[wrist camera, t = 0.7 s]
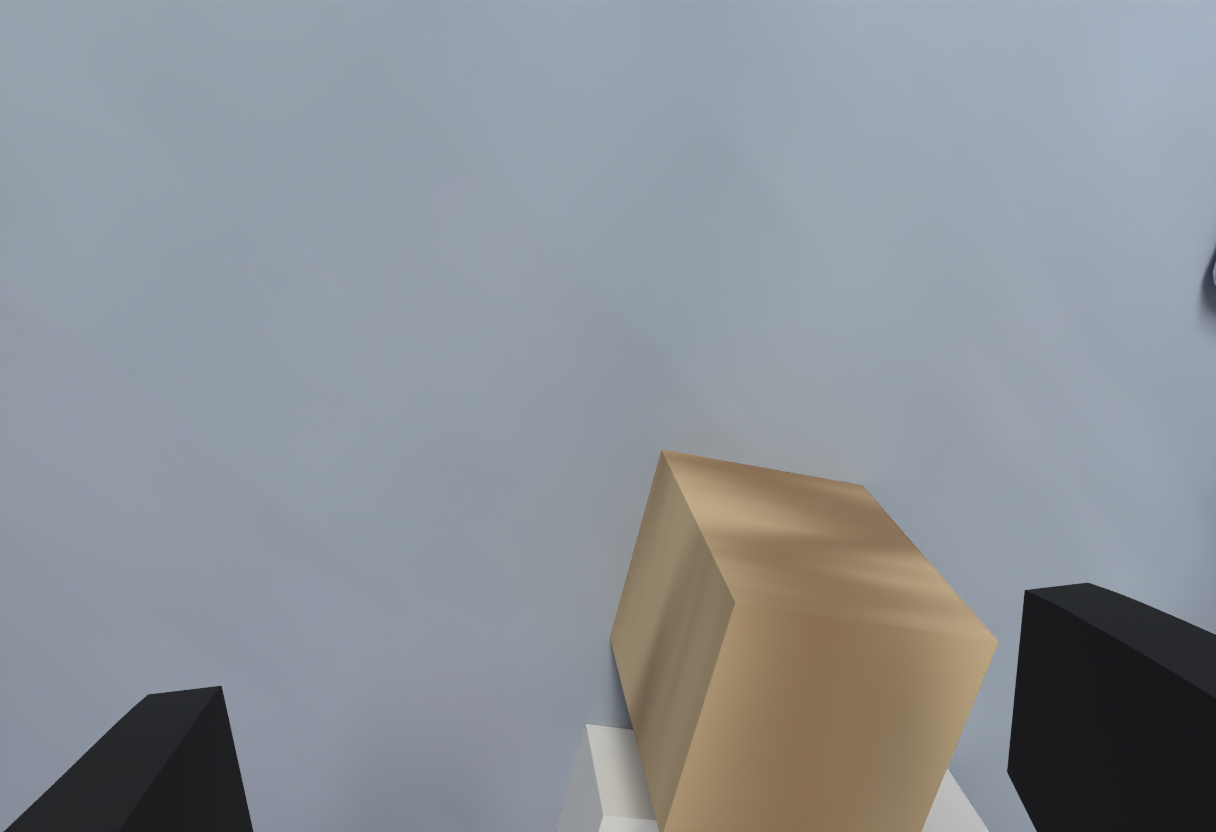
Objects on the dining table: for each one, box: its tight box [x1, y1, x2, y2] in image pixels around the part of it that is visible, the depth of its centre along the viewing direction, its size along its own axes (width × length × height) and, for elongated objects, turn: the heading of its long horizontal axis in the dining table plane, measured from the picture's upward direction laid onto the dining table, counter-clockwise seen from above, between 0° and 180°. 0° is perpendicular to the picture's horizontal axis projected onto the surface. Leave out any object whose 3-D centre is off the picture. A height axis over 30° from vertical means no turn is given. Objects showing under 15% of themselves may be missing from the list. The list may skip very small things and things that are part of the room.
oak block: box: [610, 450, 998, 832], centre depth 18 cm, size 4×4×6 cm
